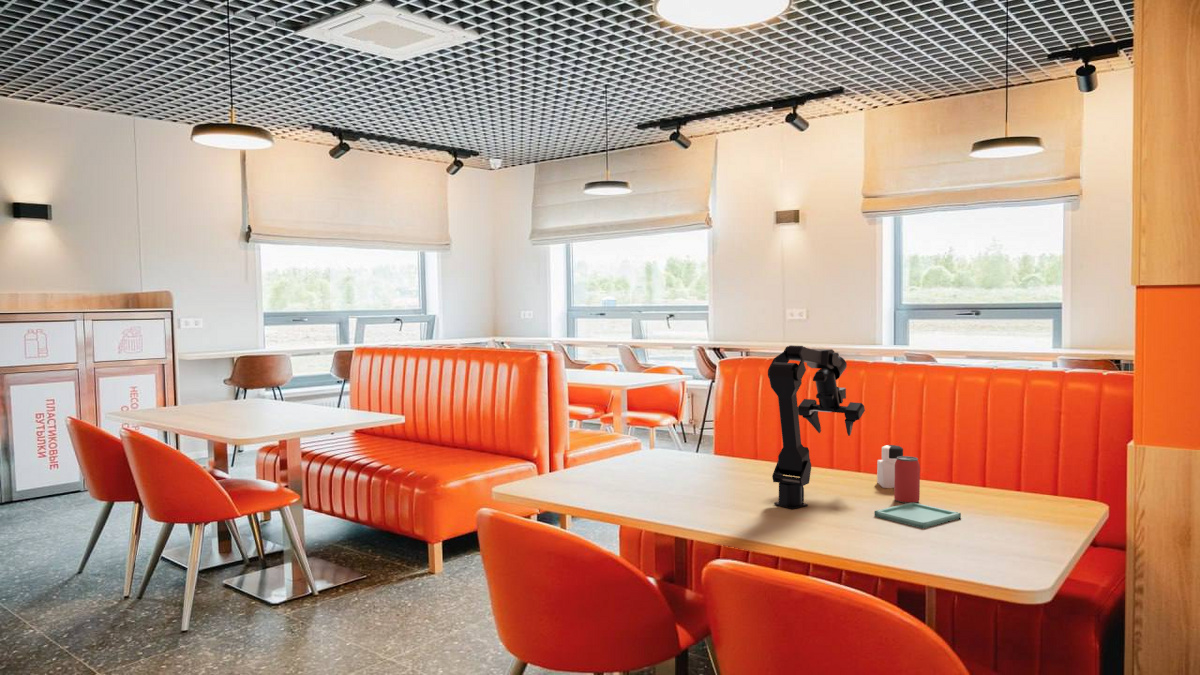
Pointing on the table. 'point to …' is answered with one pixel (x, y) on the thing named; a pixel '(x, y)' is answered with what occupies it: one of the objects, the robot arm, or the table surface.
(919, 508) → the tray
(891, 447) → the medicine bottle
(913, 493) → the beer can
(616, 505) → the table surface
